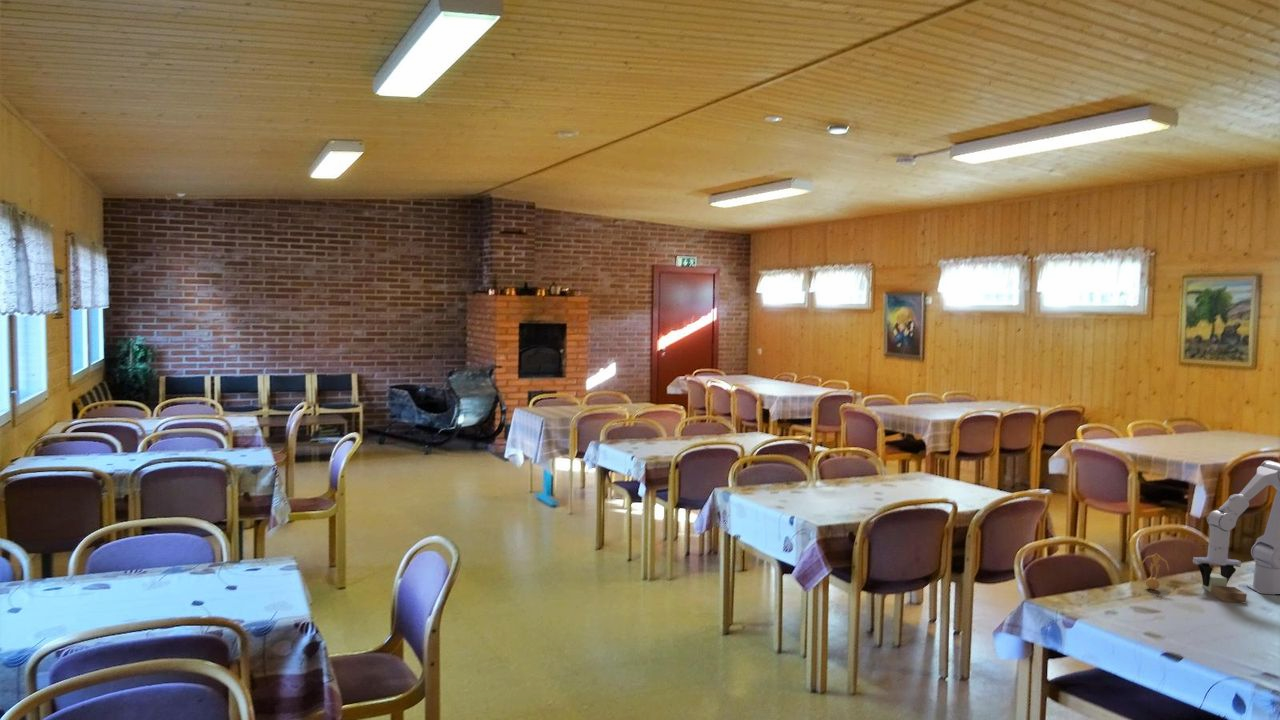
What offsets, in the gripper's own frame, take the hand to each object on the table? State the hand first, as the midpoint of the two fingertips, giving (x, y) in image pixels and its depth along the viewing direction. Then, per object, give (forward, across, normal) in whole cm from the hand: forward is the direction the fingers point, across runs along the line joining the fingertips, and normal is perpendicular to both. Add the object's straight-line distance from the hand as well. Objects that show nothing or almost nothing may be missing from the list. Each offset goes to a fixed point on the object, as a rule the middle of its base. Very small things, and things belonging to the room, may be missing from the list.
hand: (1214, 586), depth 309 cm
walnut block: (+1, 0, -8) cm, 9 cm away
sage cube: (+1, 0, 0) cm, 1 cm away
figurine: (+2, -22, -3) cm, 22 cm away
